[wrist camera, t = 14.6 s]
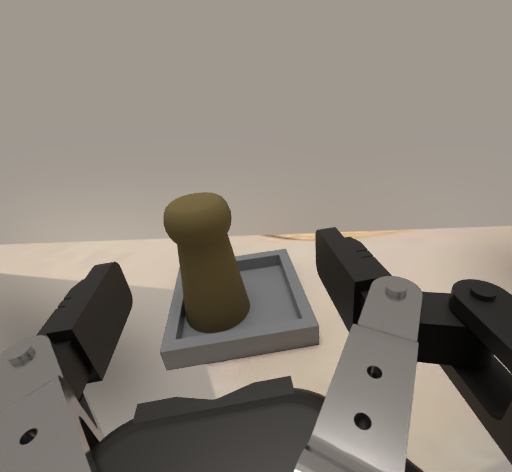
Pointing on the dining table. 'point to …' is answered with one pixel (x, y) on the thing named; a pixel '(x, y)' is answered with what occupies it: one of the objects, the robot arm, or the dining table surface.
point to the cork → (207, 262)
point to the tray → (247, 317)
